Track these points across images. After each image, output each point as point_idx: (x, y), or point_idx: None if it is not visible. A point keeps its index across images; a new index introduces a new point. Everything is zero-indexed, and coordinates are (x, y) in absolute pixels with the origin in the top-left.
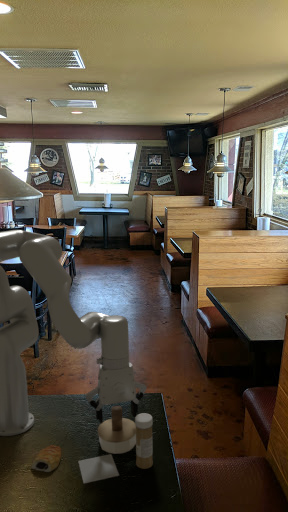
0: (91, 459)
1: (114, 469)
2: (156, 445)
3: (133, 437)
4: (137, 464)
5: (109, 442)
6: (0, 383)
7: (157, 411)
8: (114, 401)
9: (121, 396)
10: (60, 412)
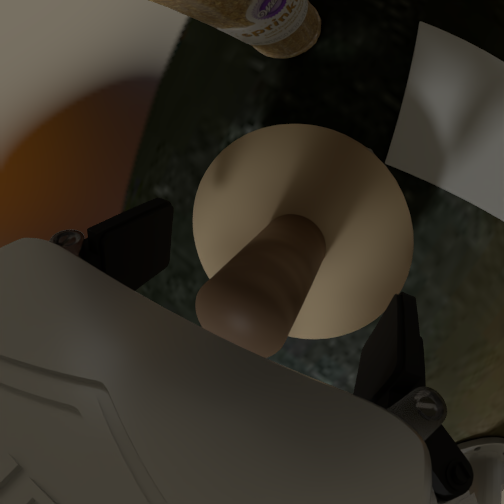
0: (472, 193)
1: (424, 61)
2: (185, 112)
3: None
4: (318, 20)
5: None
6: None
7: None
8: (234, 371)
9: (74, 349)
10: None
